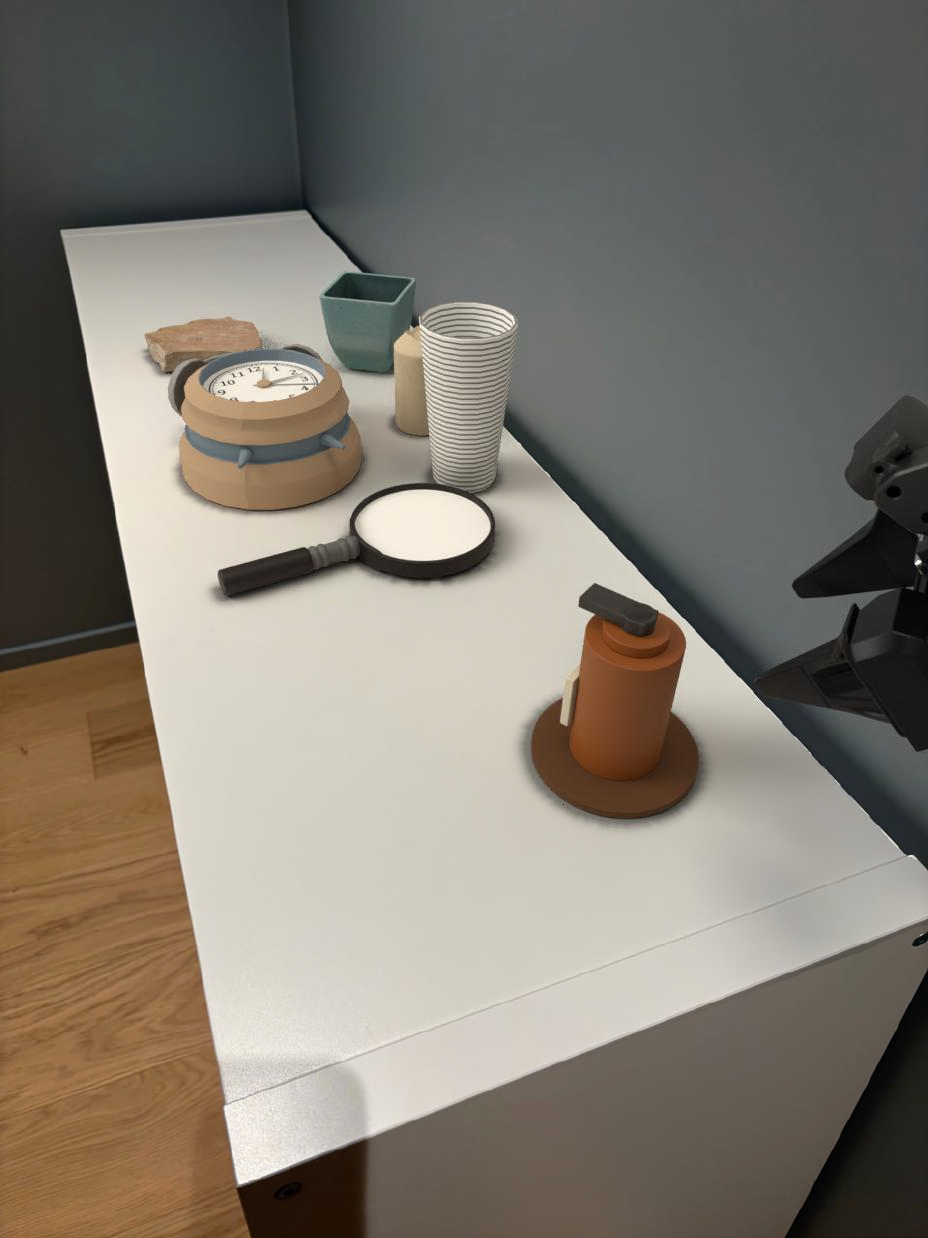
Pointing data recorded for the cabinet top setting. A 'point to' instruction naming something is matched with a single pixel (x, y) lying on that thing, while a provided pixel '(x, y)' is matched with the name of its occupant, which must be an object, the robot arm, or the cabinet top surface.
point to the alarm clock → (264, 428)
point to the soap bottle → (622, 686)
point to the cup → (466, 388)
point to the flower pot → (367, 317)
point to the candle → (410, 384)
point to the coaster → (610, 795)
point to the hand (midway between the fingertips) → (778, 635)
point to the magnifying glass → (389, 538)
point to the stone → (201, 340)
